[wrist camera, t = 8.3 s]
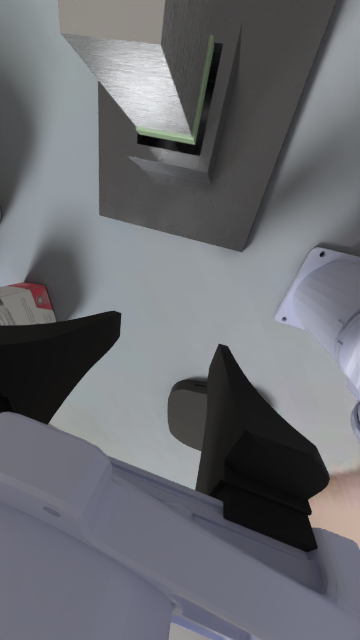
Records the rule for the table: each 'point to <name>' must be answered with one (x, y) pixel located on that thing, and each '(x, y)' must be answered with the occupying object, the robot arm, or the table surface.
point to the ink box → (25, 305)
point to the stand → (217, 127)
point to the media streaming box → (188, 412)
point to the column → (146, 58)
